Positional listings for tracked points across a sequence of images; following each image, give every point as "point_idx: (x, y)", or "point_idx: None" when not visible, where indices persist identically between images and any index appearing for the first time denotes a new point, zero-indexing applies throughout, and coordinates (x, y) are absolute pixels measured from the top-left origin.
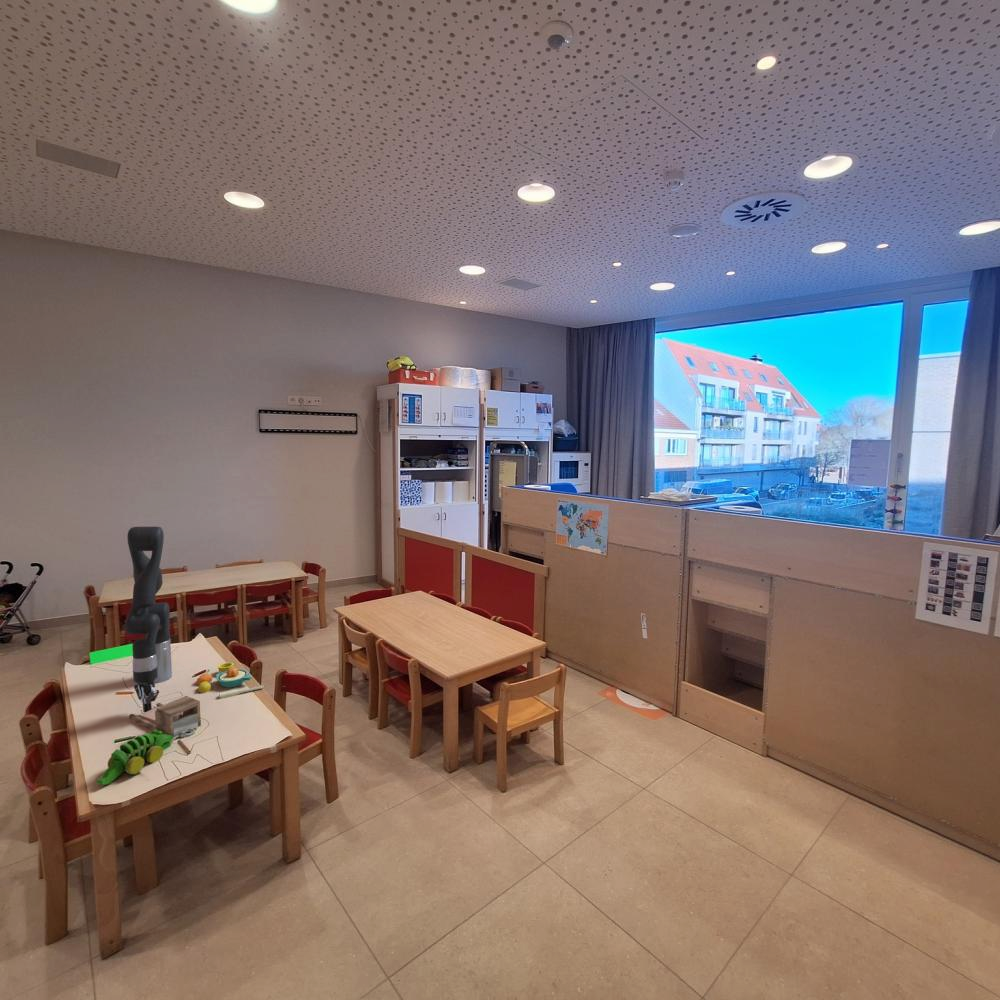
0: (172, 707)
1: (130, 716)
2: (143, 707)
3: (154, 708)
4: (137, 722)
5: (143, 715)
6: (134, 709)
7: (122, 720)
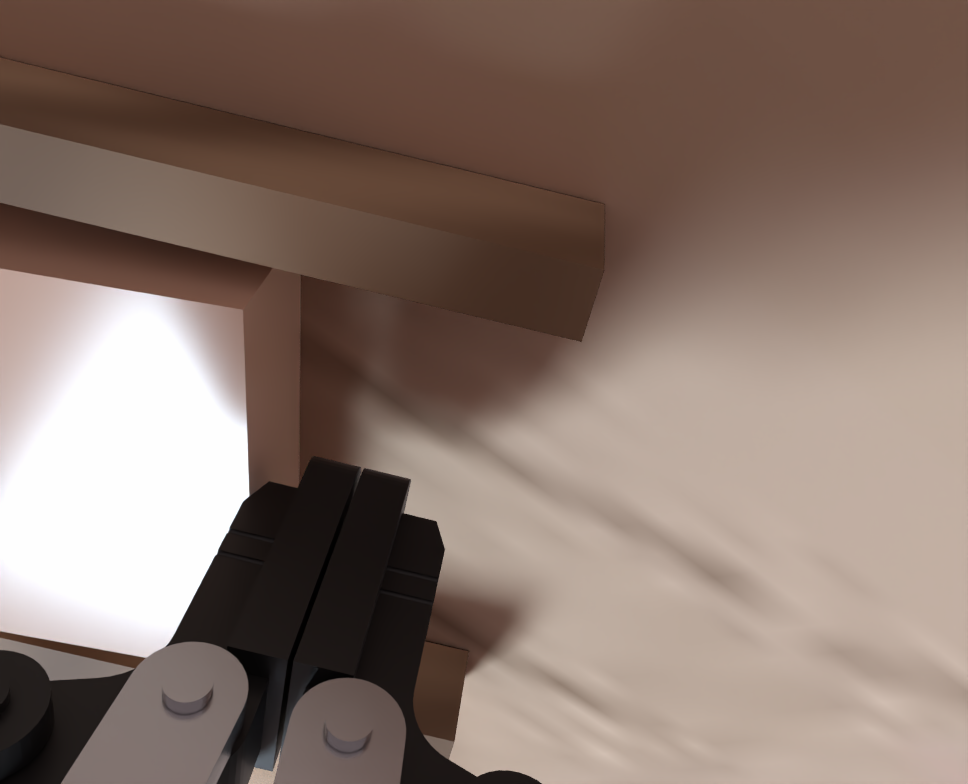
0: None
1: (538, 237)
2: (363, 560)
3: None
4: (202, 120)
5: (109, 309)
6: (908, 576)
7: (784, 137)
